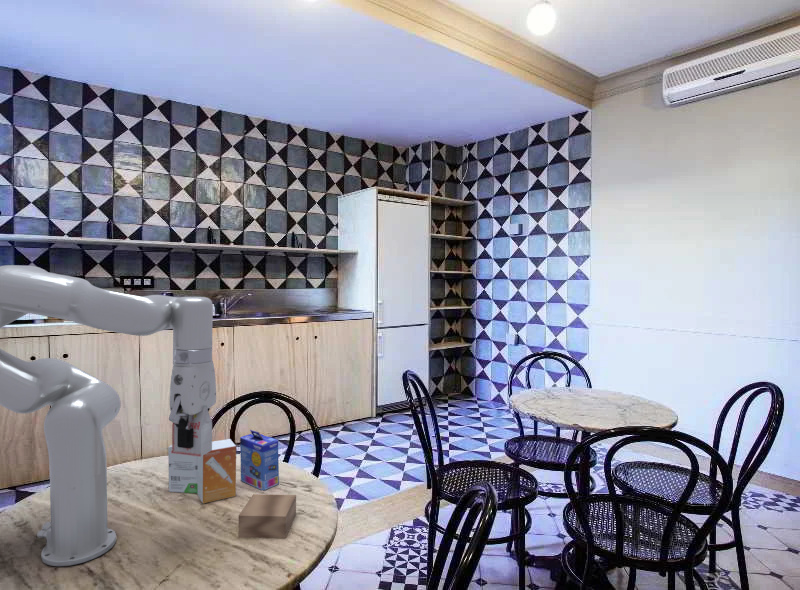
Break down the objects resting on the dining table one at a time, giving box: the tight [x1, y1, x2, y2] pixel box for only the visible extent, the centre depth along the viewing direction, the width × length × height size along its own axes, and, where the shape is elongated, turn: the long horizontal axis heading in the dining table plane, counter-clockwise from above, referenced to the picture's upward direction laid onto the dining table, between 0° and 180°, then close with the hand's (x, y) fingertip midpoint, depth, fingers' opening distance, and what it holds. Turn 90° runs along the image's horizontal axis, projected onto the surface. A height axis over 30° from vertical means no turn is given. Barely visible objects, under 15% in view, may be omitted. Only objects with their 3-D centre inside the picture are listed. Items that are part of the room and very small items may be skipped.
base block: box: [238, 493, 297, 539], centre depth 108 cm, size 10×10×5 cm
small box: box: [197, 438, 237, 504], centre depth 122 cm, size 8×6×13 cm
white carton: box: [171, 405, 213, 457], centre depth 102 cm, size 4×7×10 cm, turn 77°
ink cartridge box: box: [239, 429, 280, 491], centre depth 130 cm, size 10×6×14 cm, turn 54°
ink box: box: [167, 444, 198, 494], centre depth 126 cm, size 9×5×12 cm, turn 83°
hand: (192, 442), depth 102 cm, fingers closed on white carton, 3 cm apart
